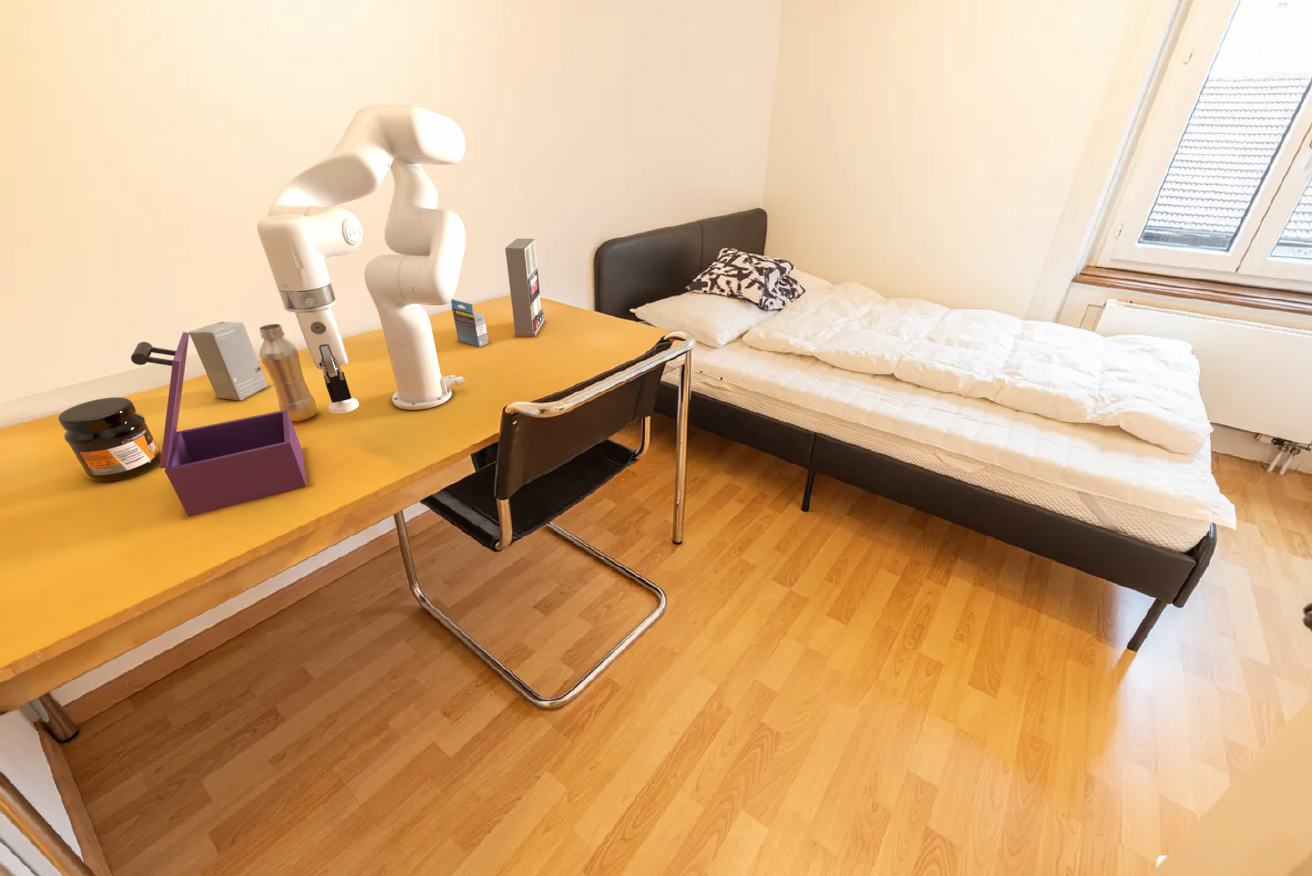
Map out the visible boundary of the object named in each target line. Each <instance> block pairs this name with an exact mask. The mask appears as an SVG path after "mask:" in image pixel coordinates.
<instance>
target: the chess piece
mask: <svg viewBox="0 0 1312 876" xmlns="http://www.w3.org/2000/svg"><path fill="white" fill-rule="evenodd" d="M335 369H337V368H335ZM337 370H338V369H337ZM326 371H328V370H326ZM359 405H360V403H359V401H358V399H357V398H354V397H351V399H349V400H345V401H340V402H335V403H333V402H332V401H331V402H330V403H329V404H328V406H327V407H328V412H330V413H332V414H346V413H350V412H352V411H354V410H356V409H358V408H359Z"/></svg>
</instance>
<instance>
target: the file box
mask: <svg viewBox="0 0 1312 876" xmlns="http://www.w3.org/2000/svg"><path fill="white" fill-rule="evenodd" d="M303 454H304V453H303V449H302V446H301V444H300V441H299V438H298V435H297V431H296V429H295V427H294V424H293V421H291V418H290V415H289V413H288V410H283V411H280V410H278V411H273V412H269V413H268V412H267V413H264V414H259V415H253V416H248V417H243V418H237V419H233V420H228V421H224V422H223V421H222V422H218V423H213V424H208V425H203V426H198V427H193V428H188V429H183V430H177V432H176V436H175V439H174V443H173V447H172V451H171V454H170V458H169V462H168V466H167V468H164V473H165V474H166V476H167V478H168V480H169V482H170V484H171V486H172V489H174V492H175V494H176V496H177V498H178V499H179V501H180V504H181V505H182V507H183V509H184V512H185V513H186V515H187V517H193V516H198V515H201V514H204V513H208V512H213V511H217V510H220V509H224V508H228V507H232V506H236V505H239V504H244V503H247V502H248V503H249V502H250V501H255V500H259V499H264V498H267V497H271V496H274V495H278V494H283V493H286V492H287V493H288V492H290V491H294V490H299V489H303V488H306V487H307V480H306V471H305V465H304V463H305V462H304V455H303Z"/></svg>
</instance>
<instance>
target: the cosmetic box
mask: <svg viewBox="0 0 1312 876" xmlns="http://www.w3.org/2000/svg"><path fill="white" fill-rule="evenodd" d="M188 333H189V337H190V338H191V340H192V343H193V345H194V348H195V349H196V350H195V351H196V352H197V354H198V357H199V360H200V361H201V364H202V366H203V368H204V371H205V373H206V375H207V378H208V380H209V382H210V385H211V387H212V389H213V392H214V395H215V397H216V398H217V399H221V400H222V399H224V400H225V399H226V400H232V401H243V400H245V399H246V398H248V397H250V396H252V395H254V394H256V393H258V392H259V391H262V390H263V389H266V388H267V387H268V384H267V382H266V379H265V376H264V373H263V371H262V368H261V365H260V363H259V361H258V358H257V355H256V352H255V350H254V347H253V345H252V342H251V340H250V337H249V334H248V330H247V329H246V326H245V323H244V322H238V321H237V322H233V321H219V322H216V323H213V324H209V325H204V326H202V327H199V328H196V329H193V330H190V331H189V332H188Z"/></svg>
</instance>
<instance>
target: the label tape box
mask: <svg viewBox="0 0 1312 876" xmlns="http://www.w3.org/2000/svg"><path fill="white" fill-rule="evenodd" d="M450 303H451V310H452V311H451V312H452V315H453V320H454V325H455V330H456V331H455V332H456V336H457V340H458V342H460V343H463V344H468V345H471V346H475V347H478V348H481V347H484V346H485V345H488V344H489V343H490V342H489V336H488V330H487V326H486V320H485V315H484V314H482V313H478V312H474V309H473V304H472V303H469V302H464V301H461V300H457V299H453V298H452V300H451V301H450ZM460 306H462V307H460ZM463 307H464V308H463Z"/></svg>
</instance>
